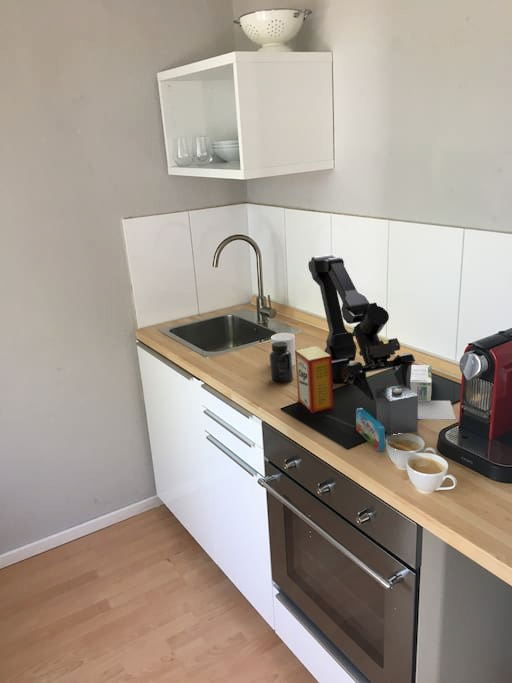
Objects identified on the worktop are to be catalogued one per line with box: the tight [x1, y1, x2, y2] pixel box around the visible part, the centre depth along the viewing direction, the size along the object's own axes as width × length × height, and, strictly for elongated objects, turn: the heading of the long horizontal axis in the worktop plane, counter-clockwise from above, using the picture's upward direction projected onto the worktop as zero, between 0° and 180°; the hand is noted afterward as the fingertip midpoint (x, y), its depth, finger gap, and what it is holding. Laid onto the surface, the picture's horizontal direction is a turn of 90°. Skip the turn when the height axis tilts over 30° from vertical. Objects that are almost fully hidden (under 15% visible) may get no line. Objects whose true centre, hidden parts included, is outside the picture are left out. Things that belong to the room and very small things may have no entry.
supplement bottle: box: [269, 342, 294, 384], centre depth 179 cm, size 7×7×12 cm
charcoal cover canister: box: [375, 384, 419, 437], centre depth 143 cm, size 7×7×11 cm
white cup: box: [270, 332, 296, 367], centre depth 192 cm, size 8×8×10 cm
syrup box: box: [409, 364, 433, 401], centre depth 163 cm, size 6×6×14 cm
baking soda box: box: [295, 345, 334, 413], centre depth 160 cm, size 10×6×16 cm
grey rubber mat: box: [418, 400, 457, 420], centre depth 152 cm, size 11×11×1 cm
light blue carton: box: [355, 407, 386, 452], centre depth 140 cm, size 12×2×6 cm, turn 17°
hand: (389, 397), depth 146 cm, fingers open, 9 cm apart
